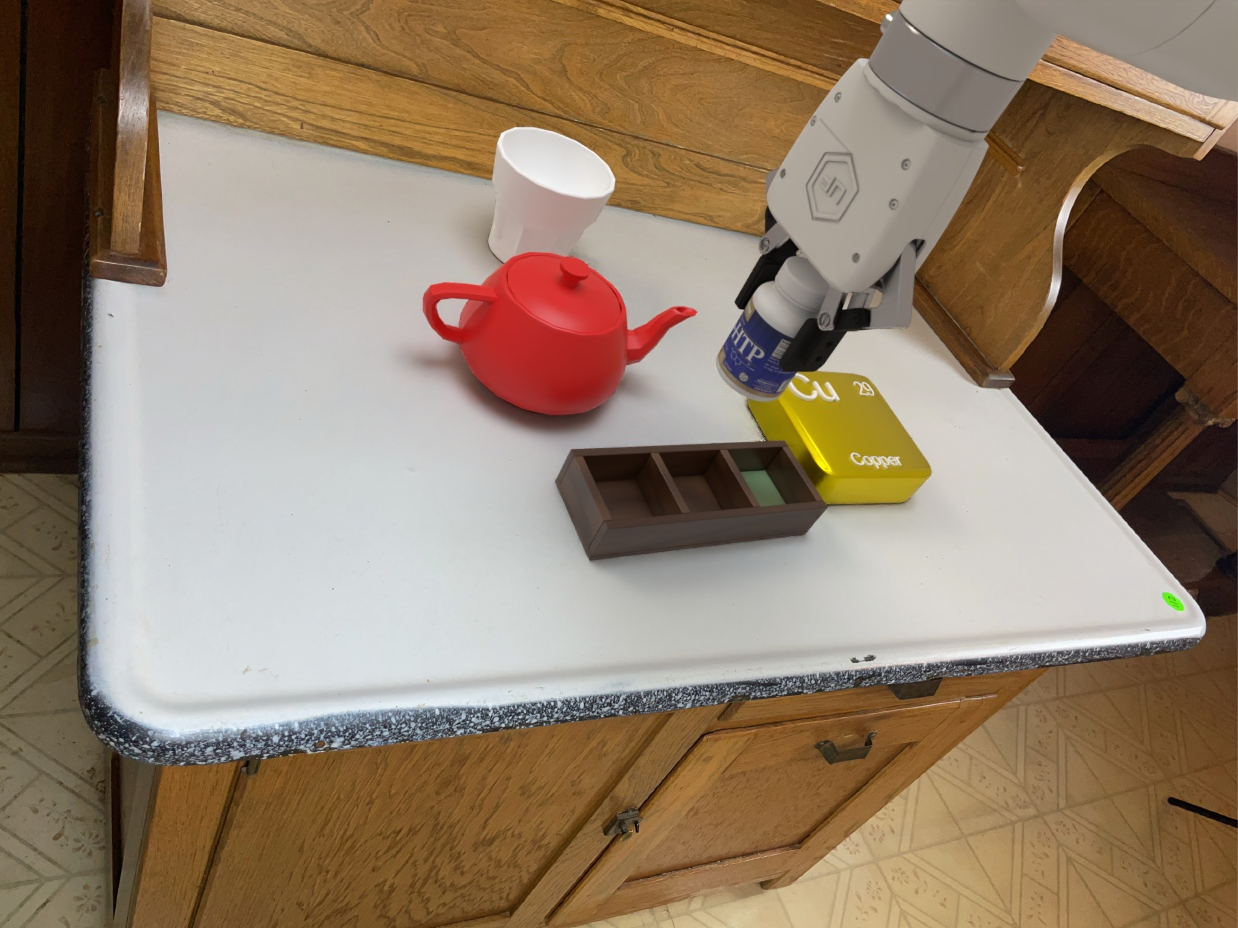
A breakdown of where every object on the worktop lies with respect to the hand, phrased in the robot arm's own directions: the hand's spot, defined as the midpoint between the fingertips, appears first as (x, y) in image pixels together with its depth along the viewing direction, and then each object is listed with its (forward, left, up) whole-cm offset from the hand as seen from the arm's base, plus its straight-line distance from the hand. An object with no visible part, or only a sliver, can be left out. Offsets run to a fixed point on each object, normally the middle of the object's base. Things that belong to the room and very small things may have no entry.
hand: (775, 335), depth 57 cm
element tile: (+8, -26, -22) cm, 34 cm away
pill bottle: (0, 0, -4) cm, 4 cm away
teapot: (+19, +3, -22) cm, 29 cm away
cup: (+38, -2, -22) cm, 44 cm away
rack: (+2, -5, -21) cm, 22 cm away
